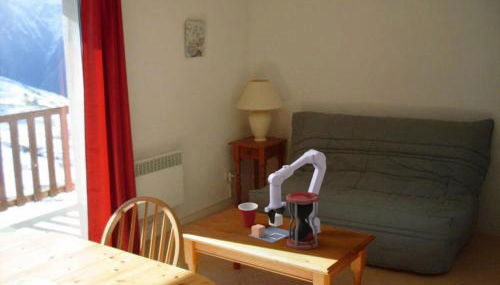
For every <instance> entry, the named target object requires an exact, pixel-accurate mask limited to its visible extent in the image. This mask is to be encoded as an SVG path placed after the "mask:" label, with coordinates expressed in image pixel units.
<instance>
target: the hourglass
mask: <svg viewBox="0 0 500 285" xmlns="http://www.w3.org/2000/svg"><path fill="white" fill-rule="evenodd" d="M285 197H286V202H288V212H289V215H290V216H291V219H290V222H289V224H288V231H289V236H288V237H287V239H286V245H287V246H288V247H290V248H291V249H296V250H312V249H315V248H317V247H318V246H319V245H320V240H319V239H318V233H317V228H316V226H315V224H314V219H315V218H316V217H317V216H318V206H317V204H318V201H319V199H320V198H319V194H318V195H317V194H315V193H311V192H308V191H296V192H291V193H290V192H289V193H288V194H286V196H285ZM314 202H315V215H314V217H313V218H312V221H311V223H312V226H313V227H314V229H315V235H313V229H312V227H311V226H310V221H309V215H310V214H311V213H312V211H313V203H314ZM305 219H306V220H307V222H308V223H307V222H306V221H305ZM294 221H296V223H295V225H294V227H293V228H292V224H293V223H294ZM291 232H292V235H291Z"/></svg>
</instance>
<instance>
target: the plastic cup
mask: <svg viewBox="0 0 500 285" xmlns="http://www.w3.org/2000/svg"><path fill="white" fill-rule="evenodd" d="M258 206H259V205H258V204H257V203H255V202H244V203H241V204H239V205H238V210H239V212H240V216H241V222H242V225H243V227H244V228H252V226H255V221H256V215H257V209H258V208H259V207H258Z"/></svg>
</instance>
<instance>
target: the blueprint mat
mask: <svg viewBox="0 0 500 285" xmlns="http://www.w3.org/2000/svg"><path fill="white" fill-rule="evenodd" d="M247 236H249V237H251V238H255V239H258V240H262V241H265V242H269V243H274V242H277V241H279V240H282V239H285V238H288V237H289V230H286V229H282V228H280V227H279V228H278V227H276V226H269V227H267V228H266V227H265V236H262V237H259V238H258V237H254V236H252V233H250V234H248V235H247ZM291 236H292V231H291Z"/></svg>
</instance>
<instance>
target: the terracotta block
mask: <svg viewBox="0 0 500 285" xmlns="http://www.w3.org/2000/svg"><path fill="white" fill-rule="evenodd" d="M265 229H266V225H263V224H254V226H252V227H251V234H252V236H254V237H253V238H255V237H258V238H259V237H262V236H265ZM258 238H257V239H258Z"/></svg>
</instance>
